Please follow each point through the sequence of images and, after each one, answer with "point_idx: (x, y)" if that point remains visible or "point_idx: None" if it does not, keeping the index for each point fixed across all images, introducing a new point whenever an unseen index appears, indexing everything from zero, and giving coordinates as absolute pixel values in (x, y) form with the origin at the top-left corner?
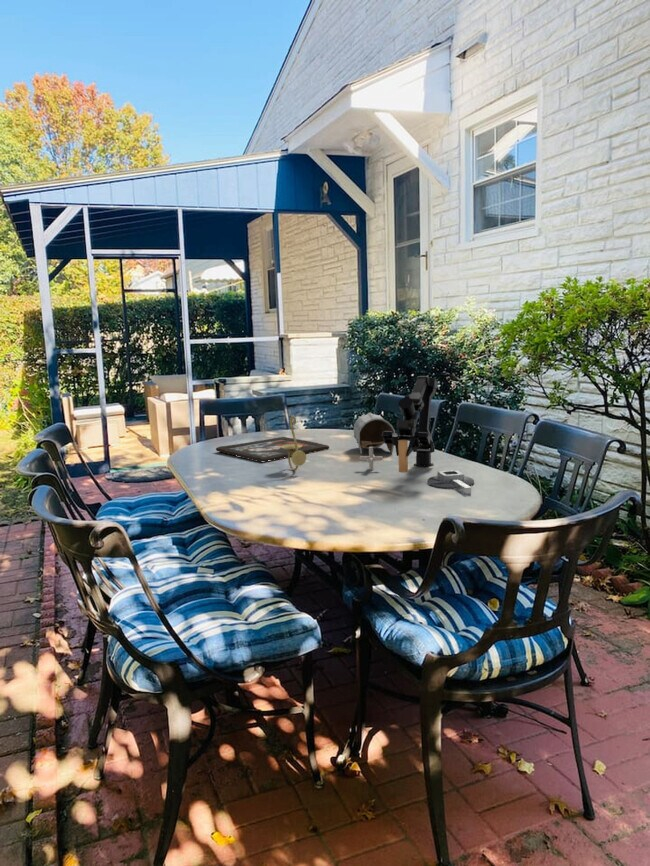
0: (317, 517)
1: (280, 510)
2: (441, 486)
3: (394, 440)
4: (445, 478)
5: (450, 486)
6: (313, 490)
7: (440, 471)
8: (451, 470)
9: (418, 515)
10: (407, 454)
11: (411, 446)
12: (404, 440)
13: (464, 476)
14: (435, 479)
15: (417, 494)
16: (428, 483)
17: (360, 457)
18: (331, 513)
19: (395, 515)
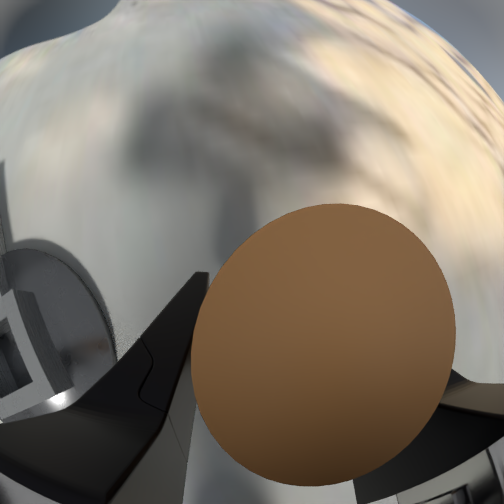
0: (335, 3)
1: (411, 40)
2: (44, 253)
3: (490, 385)
4: (17, 292)
5: (16, 250)
6: (466, 157)
7: (43, 393)
8: (12, 411)
9: (142, 11)
10: (193, 275)
11: (124, 359)
12: (300, 361)
13: (4, 421)
14: (78, 369)
15: (137, 133)
16: (102, 316)
17: None
18: (325, 11)
19: (191, 3)
